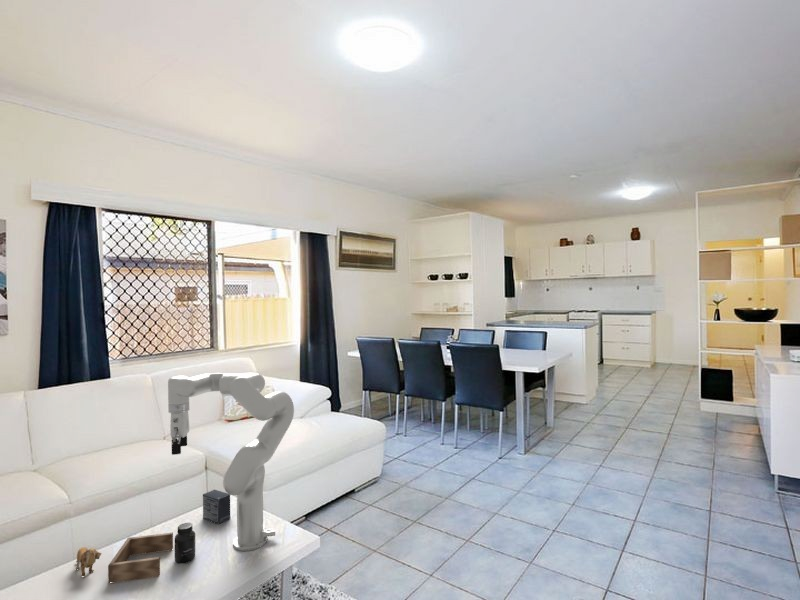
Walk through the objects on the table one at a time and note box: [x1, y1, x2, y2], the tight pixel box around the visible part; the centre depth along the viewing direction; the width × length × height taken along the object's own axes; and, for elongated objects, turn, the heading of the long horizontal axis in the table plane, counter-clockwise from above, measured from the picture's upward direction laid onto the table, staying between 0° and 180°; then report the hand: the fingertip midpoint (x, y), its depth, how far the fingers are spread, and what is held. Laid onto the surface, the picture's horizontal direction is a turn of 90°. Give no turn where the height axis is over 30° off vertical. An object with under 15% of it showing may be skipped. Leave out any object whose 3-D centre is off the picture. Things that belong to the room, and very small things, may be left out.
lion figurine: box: [75, 546, 103, 577], centre depth 154 cm, size 15×5×9 cm, turn 57°
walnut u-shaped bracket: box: [107, 532, 174, 584], centre depth 156 cm, size 15×17×6 cm
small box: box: [202, 489, 231, 525], centre depth 189 cm, size 11×6×10 cm, turn 60°
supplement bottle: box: [174, 522, 196, 565], centre depth 159 cm, size 7×7×12 cm
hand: (179, 449), depth 177 cm, fingers open, 9 cm apart
